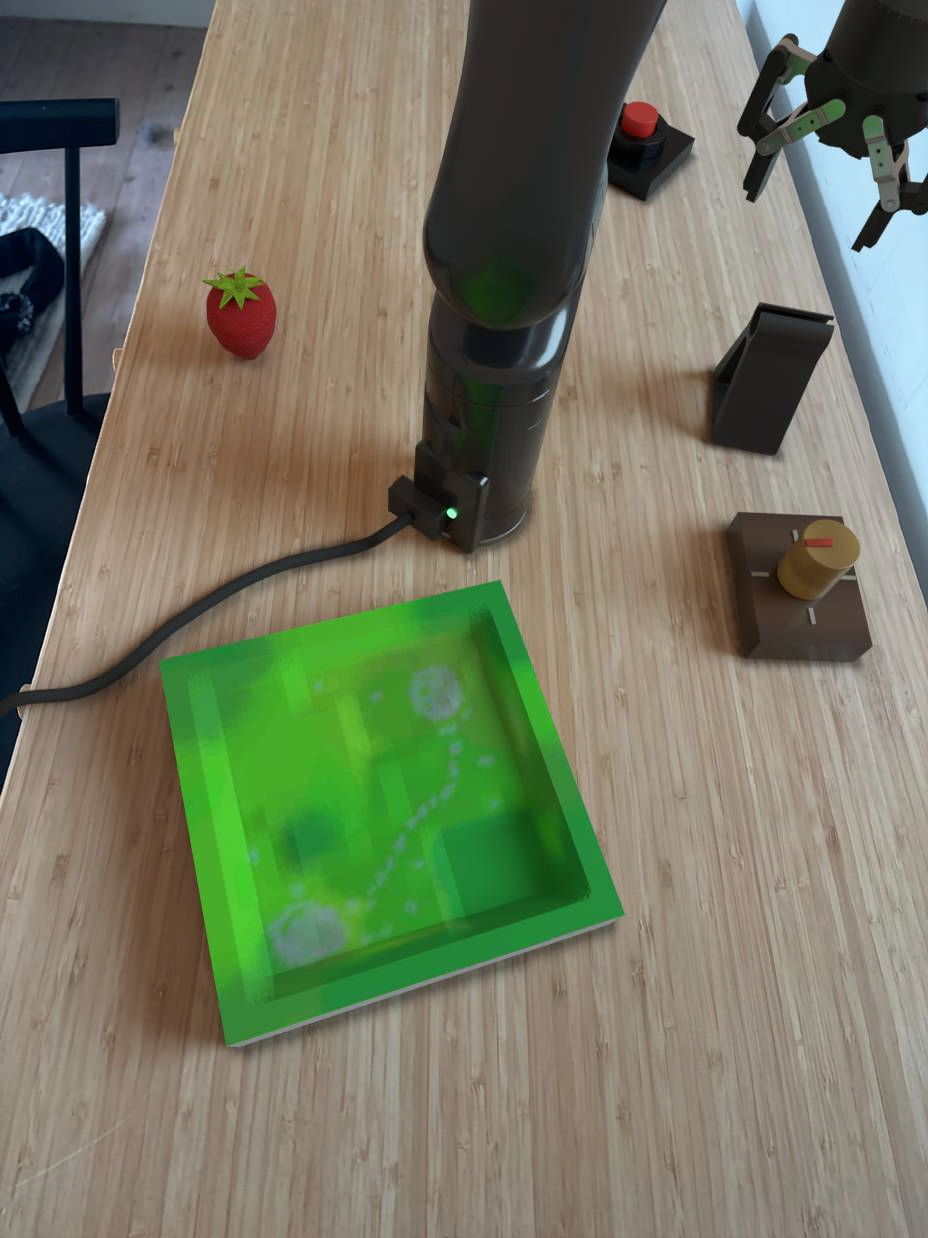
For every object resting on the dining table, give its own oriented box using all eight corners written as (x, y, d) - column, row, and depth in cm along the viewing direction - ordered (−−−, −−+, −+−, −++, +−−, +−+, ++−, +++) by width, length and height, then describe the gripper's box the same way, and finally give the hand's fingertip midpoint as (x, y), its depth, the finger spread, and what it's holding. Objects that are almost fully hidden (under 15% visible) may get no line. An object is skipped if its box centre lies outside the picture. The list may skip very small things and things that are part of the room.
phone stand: (774, 456, 79) (835, 362, 68) (709, 444, 79) (760, 348, 68) (775, 382, 83) (833, 282, 72) (714, 370, 83) (762, 268, 72)
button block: (644, 201, 93) (655, 167, 89) (567, 160, 95) (574, 125, 91) (689, 156, 97) (700, 122, 93) (614, 117, 99) (622, 82, 95)
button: (643, 142, 92) (647, 127, 90) (614, 128, 92) (618, 112, 91) (659, 126, 93) (664, 111, 92) (631, 112, 94) (635, 96, 92)
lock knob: (822, 552, 71) (853, 516, 66) (836, 599, 69) (869, 566, 64) (770, 553, 70) (798, 517, 65) (783, 601, 68) (813, 567, 63)
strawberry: (215, 388, 77) (192, 301, 68) (219, 325, 80) (198, 235, 71) (282, 388, 78) (268, 302, 69) (284, 326, 81) (271, 236, 72)
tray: (174, 687, 64) (158, 660, 60) (493, 609, 69) (500, 579, 65) (239, 1047, 54) (226, 1046, 50) (607, 925, 59) (625, 914, 55)
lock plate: (854, 661, 70) (874, 645, 67) (745, 658, 69) (761, 641, 66) (826, 535, 75) (843, 515, 72) (725, 530, 74) (738, 510, 72)
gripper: (787, -40, 50) (698, 207, 64) (1026, 57, 47) (877, 291, 61) (835, -92, 53) (740, 155, 67) (1061, -4, 50) (912, 233, 64)
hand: (805, 220), depth 64 cm, fingers open, 8 cm apart
